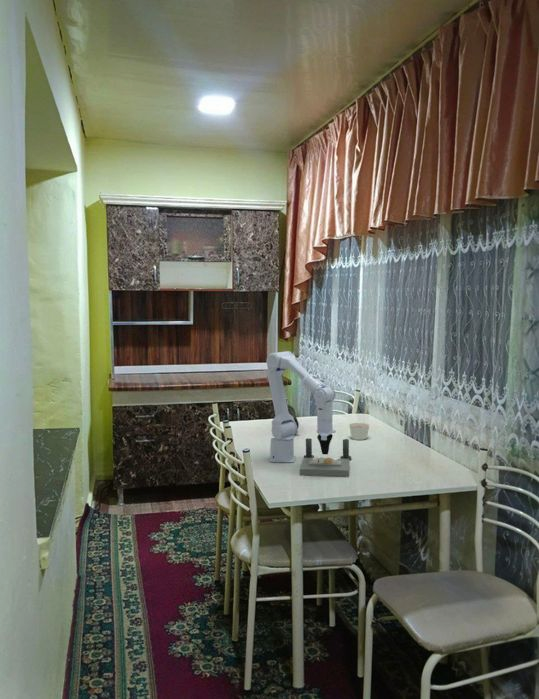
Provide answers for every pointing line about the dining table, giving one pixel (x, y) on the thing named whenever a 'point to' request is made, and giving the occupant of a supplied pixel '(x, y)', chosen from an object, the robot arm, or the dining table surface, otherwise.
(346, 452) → the dark flanged peg
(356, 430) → the candle
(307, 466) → the breaker panel
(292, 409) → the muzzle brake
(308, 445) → the gray flanged cylinder
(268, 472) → the dining table surface
